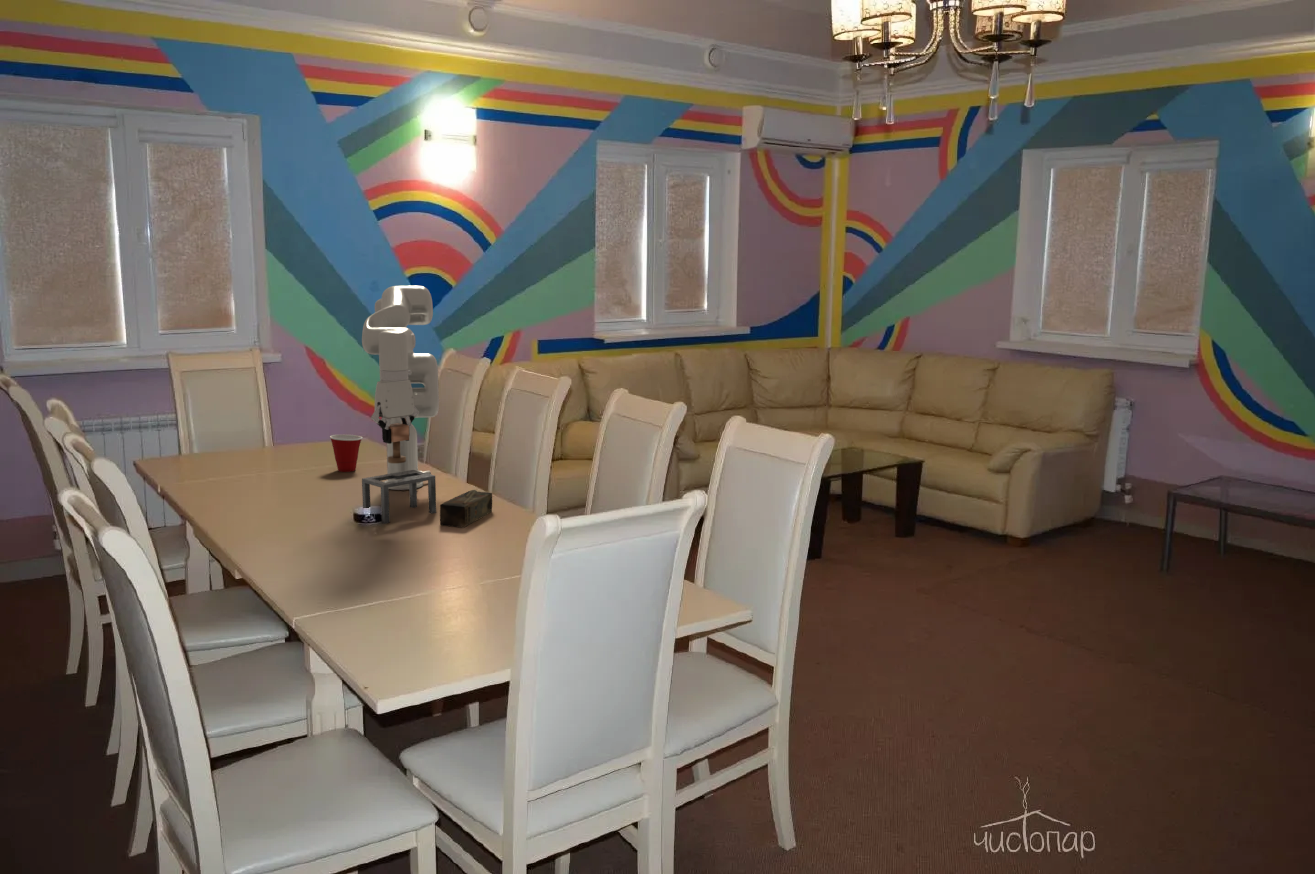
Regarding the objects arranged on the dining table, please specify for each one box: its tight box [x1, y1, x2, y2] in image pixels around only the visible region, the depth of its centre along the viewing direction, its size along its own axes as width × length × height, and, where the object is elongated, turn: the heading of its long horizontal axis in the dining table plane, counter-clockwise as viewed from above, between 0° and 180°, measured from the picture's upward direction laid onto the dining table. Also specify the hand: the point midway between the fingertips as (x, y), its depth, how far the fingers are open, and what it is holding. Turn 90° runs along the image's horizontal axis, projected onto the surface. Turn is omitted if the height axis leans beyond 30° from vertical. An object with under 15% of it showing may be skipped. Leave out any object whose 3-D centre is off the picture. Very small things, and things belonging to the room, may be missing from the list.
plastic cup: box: [329, 434, 363, 473], centre depth 346 cm, size 11×11×12 cm
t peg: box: [388, 423, 409, 463], centre depth 279 cm, size 5×5×10 cm
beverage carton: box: [439, 489, 493, 528], centre depth 286 cm, size 8×19×7 cm, turn 165°
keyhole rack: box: [361, 470, 437, 524], centre depth 288 cm, size 17×11×11 cm, turn 138°
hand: (396, 440), depth 279 cm, fingers closed on t peg, 5 cm apart
